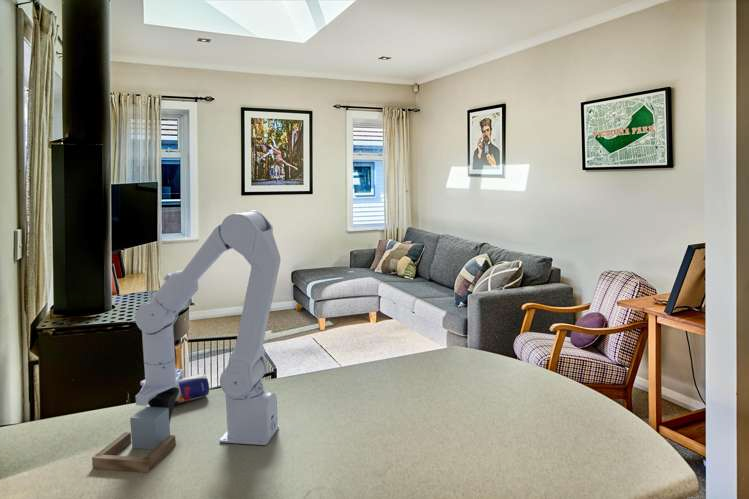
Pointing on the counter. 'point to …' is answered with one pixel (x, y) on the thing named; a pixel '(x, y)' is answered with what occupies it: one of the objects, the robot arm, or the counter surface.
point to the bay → (125, 463)
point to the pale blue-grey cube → (149, 427)
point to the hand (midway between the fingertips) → (163, 425)
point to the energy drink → (192, 388)
